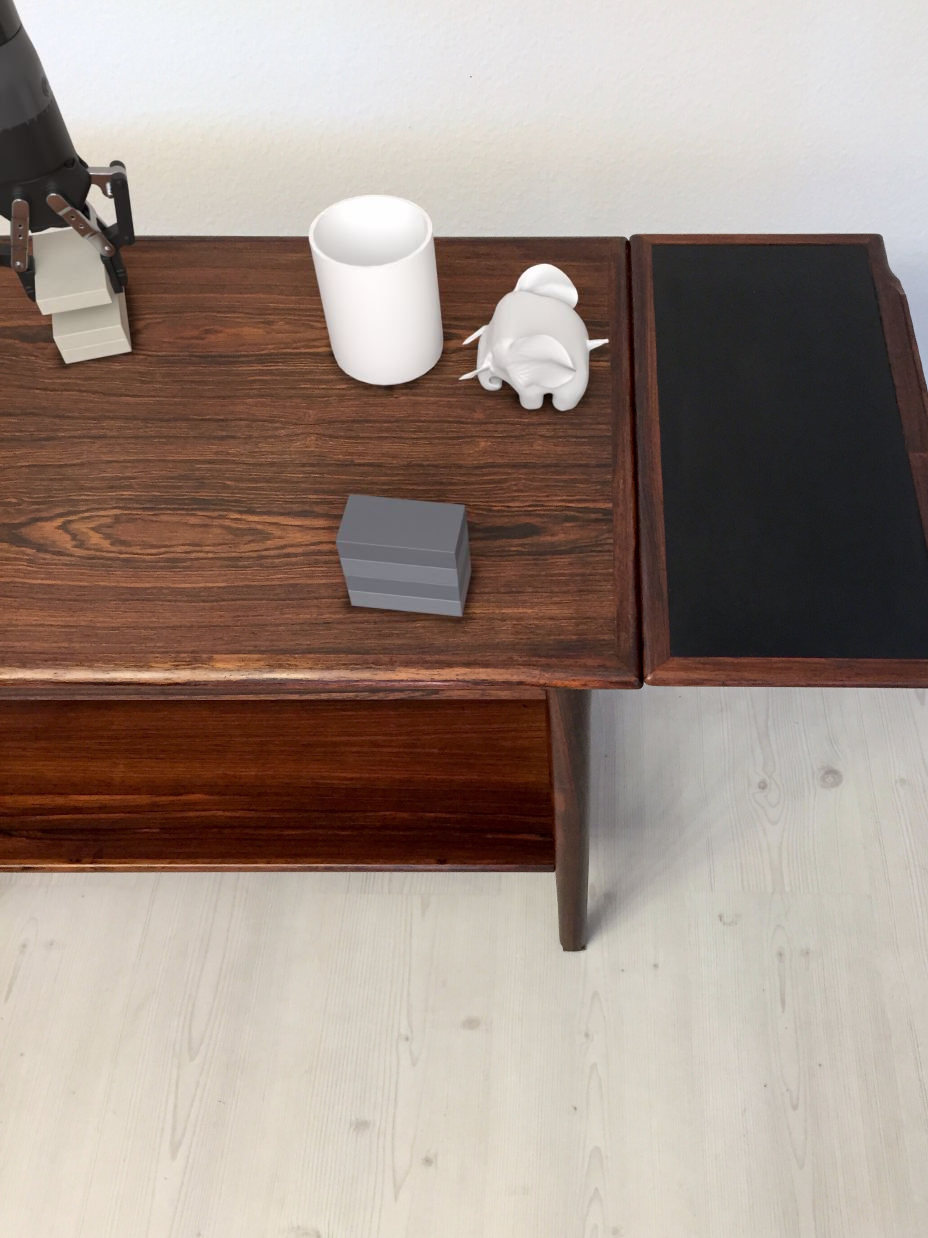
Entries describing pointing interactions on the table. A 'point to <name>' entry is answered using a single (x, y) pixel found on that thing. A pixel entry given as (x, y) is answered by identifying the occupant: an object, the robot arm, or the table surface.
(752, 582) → the table surface
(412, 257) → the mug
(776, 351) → the table surface
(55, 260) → the off-white rectangular slab
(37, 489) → the table surface
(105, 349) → the cream rectangular box
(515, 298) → the elephant figurine
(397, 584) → the grey rectangular block
